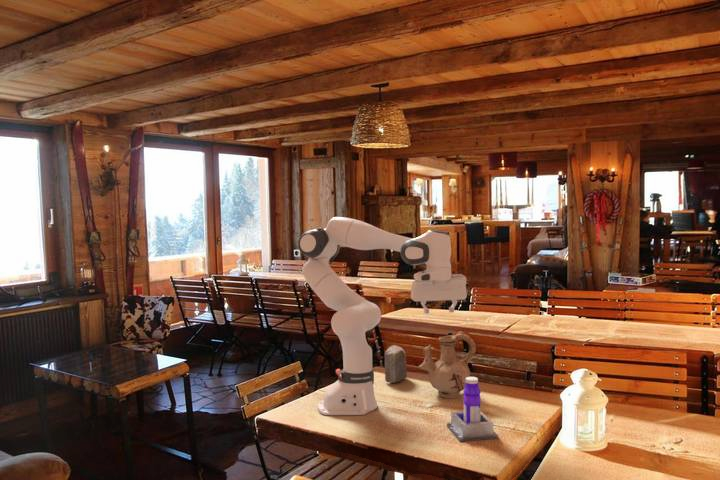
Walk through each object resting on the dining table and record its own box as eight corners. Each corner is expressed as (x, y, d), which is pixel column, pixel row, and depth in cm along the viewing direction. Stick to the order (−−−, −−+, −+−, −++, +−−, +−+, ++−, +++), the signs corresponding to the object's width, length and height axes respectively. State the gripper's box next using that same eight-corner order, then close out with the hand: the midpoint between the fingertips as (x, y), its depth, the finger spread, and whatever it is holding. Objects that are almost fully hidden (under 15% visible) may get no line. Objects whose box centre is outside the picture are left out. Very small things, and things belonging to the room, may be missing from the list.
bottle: (481, 434, 180) (481, 381, 179) (463, 433, 180) (463, 381, 180) (480, 426, 187) (480, 375, 186) (463, 425, 188) (462, 374, 187)
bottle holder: (459, 441, 177) (459, 426, 176) (446, 426, 189) (446, 412, 189) (498, 438, 179) (498, 423, 178) (482, 423, 192) (482, 409, 191)
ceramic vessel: (444, 385, 234) (444, 326, 233) (483, 394, 221) (483, 333, 220) (417, 395, 221) (416, 334, 220) (457, 407, 208) (456, 341, 207)
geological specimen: (395, 385, 235) (395, 350, 234) (383, 383, 238) (382, 348, 238) (407, 378, 244) (407, 345, 243) (395, 376, 247) (394, 343, 247)
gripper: (463, 272, 204) (463, 309, 205) (409, 274, 201) (409, 312, 201) (469, 274, 198) (469, 313, 199) (414, 276, 195) (414, 315, 195)
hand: (439, 312), depth 200 cm, fingers open, 8 cm apart
